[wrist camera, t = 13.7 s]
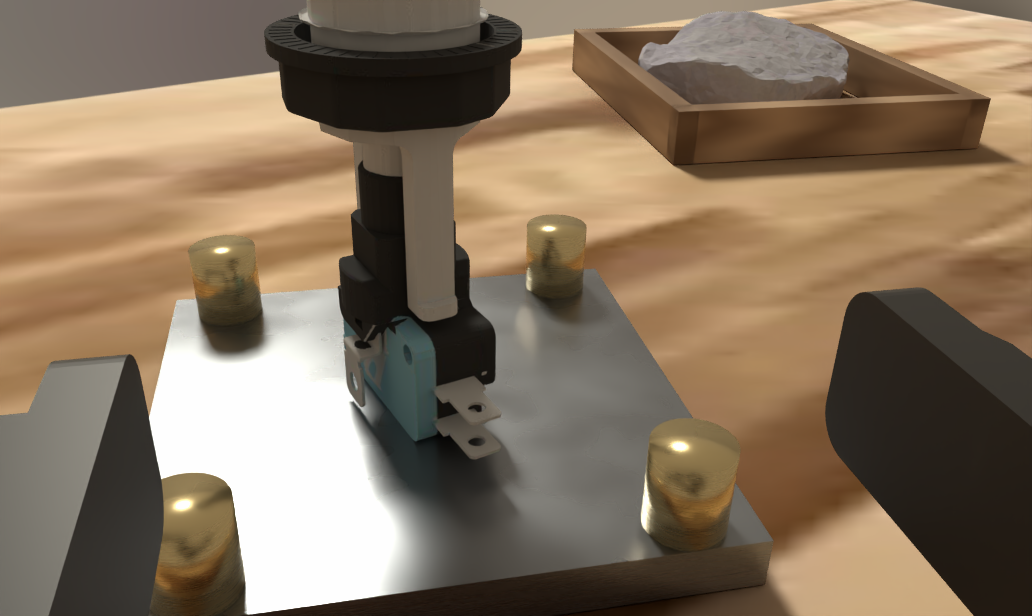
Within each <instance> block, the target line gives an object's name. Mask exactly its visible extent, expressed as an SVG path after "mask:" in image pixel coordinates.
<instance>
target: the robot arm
mask: <svg viewBox="0 0 1032 616" xmlns="http://www.w3.org/2000/svg"><path fill="white" fill-rule="evenodd" d="M825 416H826V426H827V431H828V435H829V438H830V441H831V443H832V445H833V448H834V449H835V451H836V453H837V454H838V456H839V457H840V458H841V459H842V461H843V462H844V463H845V464H846V465H847V466H848V468H849V469H850V470H851V471H852V472H853V474H854V475H855V476H856V477H857V478H858V479H859V481H860V482H861V483H862V484H863V485H864V487H865V488H866V489H867V490H868V491H869V492H870V494H871V495H872V496H873V497H874V498H875V500H876V501H877V502H878V503H879V504H880V505H881V507H882V508H883V509H884V510H885V511H886V513H887V514H888V515H889V516H890V517H891V518H892V520H893V521H894V522H895V523H896V524H897V526H898V527H899V528H900V529H901V530H902V531H903V533H904V534H905V535H906V536H907V537H908V539H909V540H910V541H911V542H912V543H913V544H914V546H915V547H916V548H917V549H918V550H919V552H920V553H921V554H922V555H923V556H924V557H925V559H926V560H927V561H928V562H929V563H930V565H931V566H932V567H933V568H934V569H935V570H936V572H937V573H938V574H939V575H940V576H941V578H942V579H943V580H944V581H945V582H946V583H947V585H948V586H949V587H950V588H951V589H952V591H953V592H954V593H955V594H956V595H957V596H958V598H959V599H960V600H961V601H962V602H963V604H964V605H965V606H966V607H967V608H968V609H969V611H970V612H971V613H972V614H973V615H974V616H1032V358H1030V357H1029V356H1027V355H1026V354H1025V353H1023V352H1022V351H1021V350H1019V349H1018V348H1017V347H1015V346H1014V345H1013V344H1011V343H1009V342H1006V341H1004V340H1002V339H1000V338H998V337H995V336H993V335H991V334H989V333H987V332H984V331H982V330H981V329H979V328H978V327H977V326H975V325H974V324H973V323H971V322H970V321H969V320H967V319H966V318H965V317H963V316H962V315H961V314H960V313H958V312H957V311H956V310H954V309H953V308H952V307H950V306H949V305H948V304H946V303H945V302H944V301H942V300H941V299H940V298H938V297H937V296H936V295H934V294H933V293H932V292H930V291H929V290H927V289H924V288H906V289H895V290H883V291H872V292H862V293H859V294H857V295H855V296H854V297H853V298H852V300H851V301H850V303H849V304H848V307H847V309H846V313H845V316H844V321H843V326H842V331H841V335H840V340H839V345H838V349H837V354H836V359H835V363H834V368H833V373H832V378H831V382H830V387H829V392H828V396H827V401H826V411H825ZM163 526H164V501H163V489H162V481H161V475H160V470H159V465H158V460H157V455H156V450H155V445H154V440H153V435H152V430H151V425H150V420H149V415H148V411H147V406H146V401H145V396H144V391H143V386H142V381H141V376H140V372H139V369H138V365H137V363H136V360H135V359H134V357H133V356H132V355H130V354H128V355H117V356H105V357H94V358H82V359H71V360H59V361H53V362H51V363H50V364H49V366H48V368H47V370H46V372H45V374H44V377H43V379H42V381H41V384H40V386H39V388H38V391H37V393H36V395H35V397H34V400H33V402H32V404H31V407H30V409H29V411H28V413H20V414H10V415H0V616H149V611H150V605H151V600H152V594H153V588H154V583H155V577H156V571H157V566H158V560H159V554H160V548H161V543H162V536H163Z"/></svg>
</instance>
